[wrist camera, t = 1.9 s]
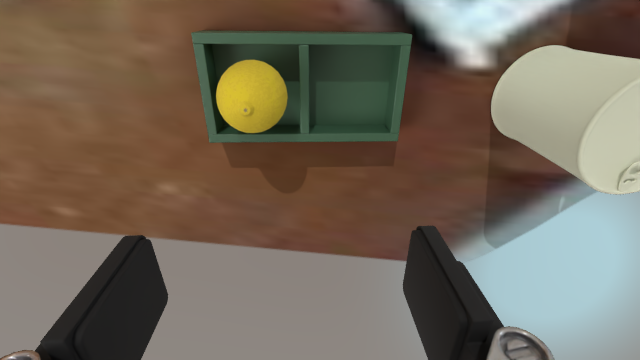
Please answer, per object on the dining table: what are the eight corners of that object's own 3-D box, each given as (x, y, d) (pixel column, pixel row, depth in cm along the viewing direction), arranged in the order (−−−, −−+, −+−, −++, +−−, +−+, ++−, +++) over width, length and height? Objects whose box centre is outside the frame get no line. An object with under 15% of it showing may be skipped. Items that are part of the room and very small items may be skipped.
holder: (201, 30, 27) (190, 32, 24) (402, 32, 28) (412, 34, 25) (217, 131, 31) (209, 142, 29) (389, 130, 32) (397, 141, 29)
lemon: (287, 117, 30) (282, 150, 23) (229, 112, 30) (206, 144, 23) (291, 57, 28) (287, 73, 21) (227, 50, 27) (201, 64, 20)
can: (480, 141, 33) (564, 201, 23) (503, 46, 29) (619, 67, 18) (566, 137, 33) (687, 196, 23) (601, 43, 29) (771, 62, 18)
